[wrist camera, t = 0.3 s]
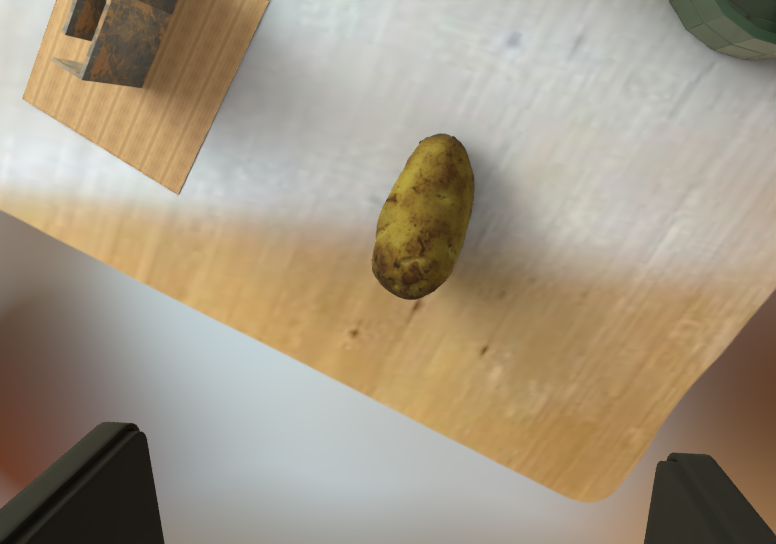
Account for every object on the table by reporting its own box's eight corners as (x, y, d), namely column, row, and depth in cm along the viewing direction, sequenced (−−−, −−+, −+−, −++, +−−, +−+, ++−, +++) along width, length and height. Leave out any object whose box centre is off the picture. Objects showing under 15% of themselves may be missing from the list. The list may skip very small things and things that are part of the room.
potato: (512, 179, 43) (527, 190, 35) (424, 292, 47) (420, 325, 39) (434, 121, 42) (432, 120, 35) (351, 241, 46) (332, 263, 38)
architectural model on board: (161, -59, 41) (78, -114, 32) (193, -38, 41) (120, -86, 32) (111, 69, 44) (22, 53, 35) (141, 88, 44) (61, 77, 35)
